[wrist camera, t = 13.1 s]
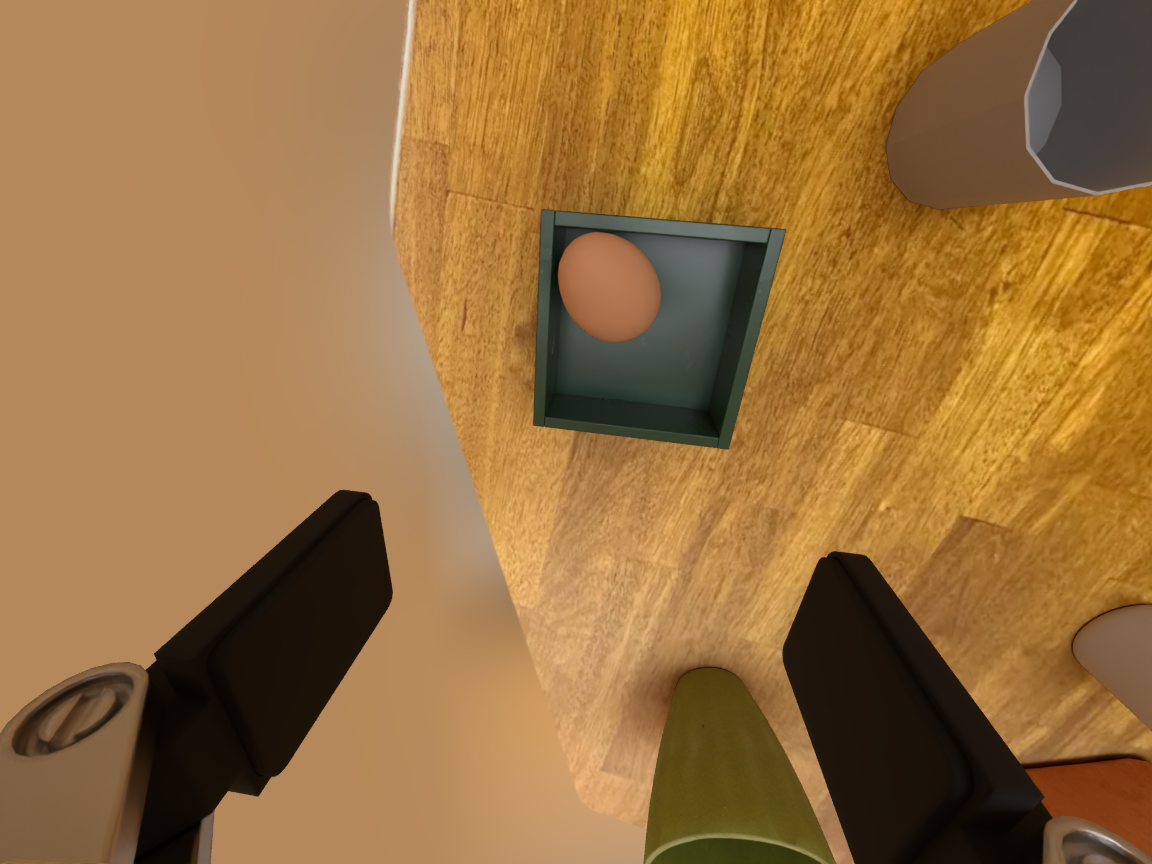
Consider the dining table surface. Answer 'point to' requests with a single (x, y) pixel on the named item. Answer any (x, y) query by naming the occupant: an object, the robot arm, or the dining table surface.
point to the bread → (1102, 796)
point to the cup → (1031, 109)
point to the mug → (1121, 656)
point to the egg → (609, 287)
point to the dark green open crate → (657, 332)
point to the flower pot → (726, 784)
